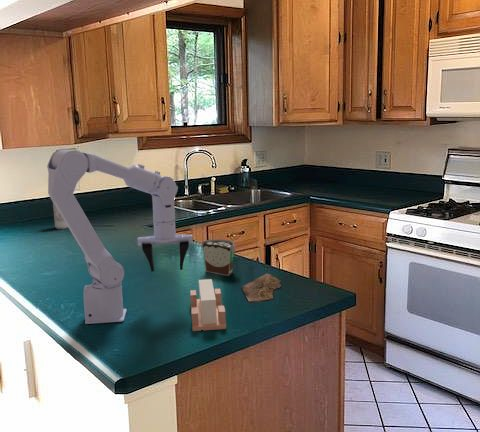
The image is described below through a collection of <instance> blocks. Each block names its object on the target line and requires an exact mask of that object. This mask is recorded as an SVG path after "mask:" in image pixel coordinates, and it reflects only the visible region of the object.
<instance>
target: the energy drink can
mask: <svg viewBox="0 0 480 432" xmlns="http://www.w3.org/2000/svg"><path fill="white" fill-rule="evenodd" d="M52 208H53V209H52V210H53V219H54V226H55V228H56V229H57V230H65V229H67V228H68V226H67V224H66V223H65V221H64V219H63V218H62V216H61V214H60V213H59V211H58V209H57V208H56V206H55V204H54V203H53V202H52ZM68 229H69V228H68Z"/></svg>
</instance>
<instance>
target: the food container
mask: <svg viewBox="0 0 480 432" xmlns="http://www.w3.org/2000/svg"><path fill="white" fill-rule="evenodd" d="M200 247H201V248H202V250H203V253H202V254H203V260H204V268H205V272H206V273H212V274H216V275H221V276H228V277H230V276H232V274H233V266H234V252H235V251H236V246H235V242H234V241H232V240H229V239H222V238H221V239H219V238H218V239H217V238H216V239H215V238H214V239H208V240H206V239H205V240H203V241H201V246H200Z"/></svg>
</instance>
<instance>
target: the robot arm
mask: <svg viewBox="0 0 480 432" xmlns="http://www.w3.org/2000/svg"><path fill="white" fill-rule="evenodd" d="M46 167H47V171H48V179H47V183H48V184H47V185H48V186H47V188H48V189H47V191H48V193H47V194H48V197H49V198H50V200H51V201H52V204H53V203H54V204H55V206H56V208H57V209H58V211H59V213H60V214H61V216H62V218H63V219H64V221H65V223H66V224H67V226H68V229H69V231H70V232H71V234H72V236H73V238H74V239H75V241H76V242H77V245H78V247H80V249H81V251H82V253H83V255H84V260H85V261H86V264H87V271H88V273H89V275H90V276H91V277H92V280H91V281H92V282H91V284H87V285H84V288H83V293H82V294H83V295H82V296H83V307H84V319H85V321H84V323H85V325H88V324H92V325H93V324H104V323H105V324H107V323H120V322H124V321H125V318H126V313H127V308H124V302H123V301H124V300H123V286H122V282H123V280H124V277H125V269H124V267H123V265H122V264H120V263H119V262H117V261H116V260H115V259H114V257H113V256H112V254H111V253H110V252H109V251H108V250H107V249H106V248H105V246H104V244H103V243H102V241H101V240H100V237H99V236H98V234H97V233H96V230H95V229H94V227H93V225H92V224H91V222H90V221H89V218H88V217H87V216H86V213H85V212H84V210H83V208H82V207H81V205H80V203H79V202H78V200H77V198H76V196H75V195H74V192H75V189H76V187H77V184H78V183H79V181H80V180H81V179H82V178H83V176H84V175H85V174H86V173H89V174H90V173H94V172H96V171H98V172H100V173H103V174H106V175H109V176H112V177H116V178H119V179H122V180H123V181H124V183H125V185H126V187H129V188H132V189H135V190H137V191H140V192H143V193H147V194H150V195H151V201H152V219H153V235H148V236H139V237H137V246H138V247H141V249H142V251H143V253H144V255H145V258H147V261H148V264H149V267H150V271H151V272H154V271H155V263H154V254H153V250H154V249H153V245H166V244H167V245H168V244H171V245H172V244H179V271H183V266H184V261H185V258H186V255H187V251H188V250H189V247H190V244H193V243H194V241H193V234H177V232H176V231H177V230H176V210H175V208H176V207H175V196H176V195H177V194H178V193H177V192H178V189H179V186H178V185H177V183H176V181H175V180H174V179H173V178H172V177H170V176H166V175H161V172H160V171H157V170H155V171H152V170H150V169H148V168H145V165H143V164H140V163H138V164H133V165H131V166H128V167H127V166H125V165H122V164H119V163H118V162H115V161H113V160H110V159H108V158H105V157H102V156H100V155H97V154H93V153H88V152H84V151H83V152H82V151H80V150H74V149H73V150H71V149H68V148H59V149H56V150H55V151H54V152H53V153H52V154H51V156H50V158H49V160H48V163H47V165H46Z"/></svg>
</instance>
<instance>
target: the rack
mask: <svg viewBox="0 0 480 432" xmlns="http://www.w3.org/2000/svg"><path fill="white" fill-rule="evenodd" d="M189 292H190V309H191V312H190V313H191V323H192V325H191V326H192V332H200V331H201V330H203V331H212V330H213V331H214V330H215V331H216V330H225V329H227V320H226V308H225V305H222V292H221V288H214V293H215V298H216V317H217V323H214V324H202V318H201V309H200V298H197V290H196V289H193V290H191V289H190V291H189Z"/></svg>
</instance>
